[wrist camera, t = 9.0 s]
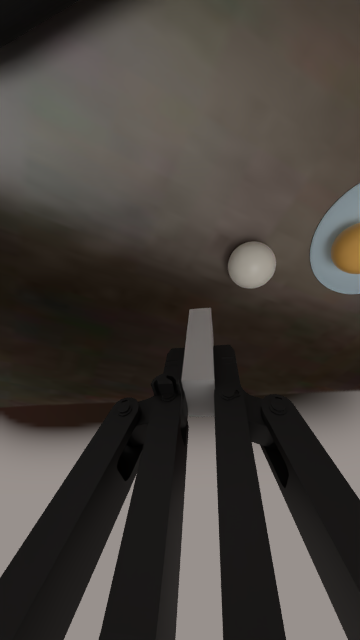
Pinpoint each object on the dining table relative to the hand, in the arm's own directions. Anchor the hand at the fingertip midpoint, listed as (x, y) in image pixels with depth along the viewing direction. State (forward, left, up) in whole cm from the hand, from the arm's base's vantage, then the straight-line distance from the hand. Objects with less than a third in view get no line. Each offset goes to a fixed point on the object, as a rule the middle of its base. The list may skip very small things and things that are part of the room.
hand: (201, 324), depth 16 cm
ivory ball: (+3, +5, -13) cm, 14 cm away
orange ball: (+9, +15, -13) cm, 22 cm away
